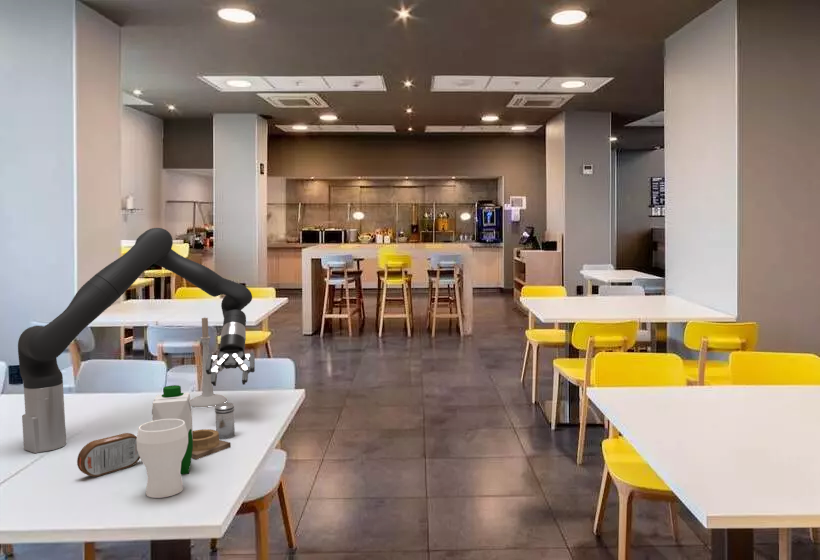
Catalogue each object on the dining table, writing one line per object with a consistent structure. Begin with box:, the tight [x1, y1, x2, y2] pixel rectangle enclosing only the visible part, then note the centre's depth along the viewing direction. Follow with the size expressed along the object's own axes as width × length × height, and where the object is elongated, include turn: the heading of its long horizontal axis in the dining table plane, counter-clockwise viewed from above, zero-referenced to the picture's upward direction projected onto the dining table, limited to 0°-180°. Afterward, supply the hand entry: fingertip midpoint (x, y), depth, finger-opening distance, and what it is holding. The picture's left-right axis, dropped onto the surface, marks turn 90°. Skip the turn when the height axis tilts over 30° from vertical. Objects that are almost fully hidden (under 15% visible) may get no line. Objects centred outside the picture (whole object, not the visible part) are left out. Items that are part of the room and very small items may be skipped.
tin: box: [76, 432, 141, 478], centre depth 148 cm, size 15×3×8 cm, turn 141°
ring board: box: [191, 428, 232, 460], centre depth 163 cm, size 11×11×4 cm
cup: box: [136, 419, 188, 499], centre depth 135 cm, size 11×11×15 cm
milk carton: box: [151, 384, 193, 475], centre depth 148 cm, size 9×9×20 cm
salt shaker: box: [214, 402, 236, 440], centre depth 174 cm, size 5×5×9 cm
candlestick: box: [190, 317, 228, 408], centre depth 210 cm, size 13×13×30 cm
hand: (228, 383), depth 182 cm, fingers open, 8 cm apart
